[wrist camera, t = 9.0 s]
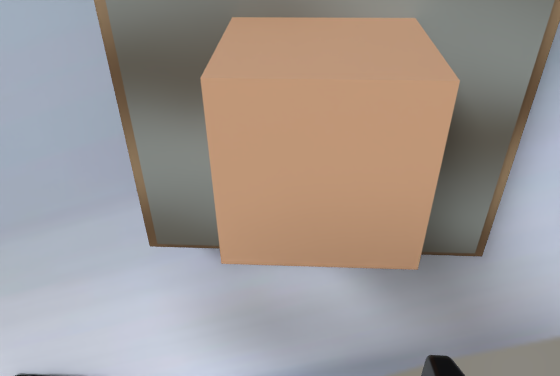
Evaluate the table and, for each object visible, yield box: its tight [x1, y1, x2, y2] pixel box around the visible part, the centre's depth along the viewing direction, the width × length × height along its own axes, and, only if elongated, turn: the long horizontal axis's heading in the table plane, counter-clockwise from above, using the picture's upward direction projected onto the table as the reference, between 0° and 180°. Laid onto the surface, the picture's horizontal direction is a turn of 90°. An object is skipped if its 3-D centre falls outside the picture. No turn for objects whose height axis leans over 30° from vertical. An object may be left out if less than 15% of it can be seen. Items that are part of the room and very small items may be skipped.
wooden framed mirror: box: [94, 0, 560, 256], centre depth 15 cm, size 13×13×3 cm
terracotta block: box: [200, 17, 460, 270], centre depth 12 cm, size 5×5×4 cm
